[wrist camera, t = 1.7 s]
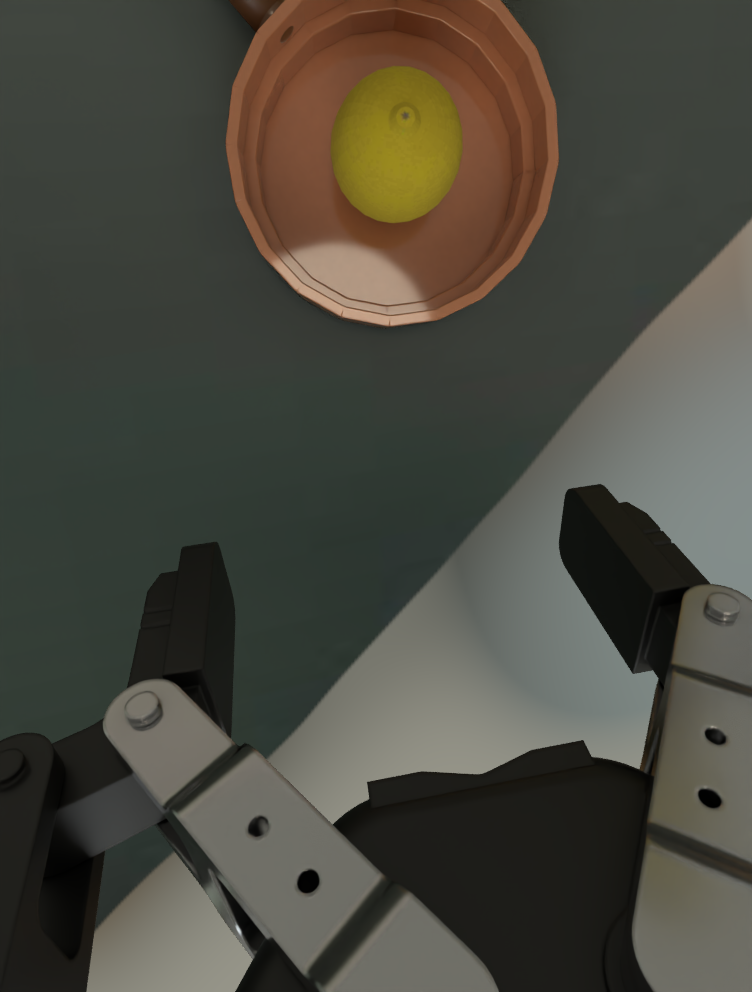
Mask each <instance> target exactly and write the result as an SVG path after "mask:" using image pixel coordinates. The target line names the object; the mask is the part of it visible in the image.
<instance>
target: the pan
mask: <svg viewBox="0 0 752 992" xmlns="http://www.w3.org/2000/svg"><path fill="white" fill-rule="evenodd" d="M290 26H293V27H294V29H293V33H292V35H291V36H290V38H289V39H288V40H287V41H286V42H284V43H280V39H281V37H282V35H283V33H284V32H285V31H286V30H287V29H288V28H289V27H290ZM391 66H410V67H413V68H416V69H418V70H421V71H424V72H426V73H427V74H429V75H430V76H432V77H433V78H435V79H436V80H438V81H439V82H440V83H441V85H442V86H443V87H444V88H445V89H446V90H447V92H448V93H449V94H450V96H451V98H452V100H453V102H454V104H455V106H456V108H457V110H458V114H459V118H460V122H461V126H462V141H463V152H462V156H461V161H460V166H459V170H458V173H457V175H456V177H455V180H454V182H453V184H452V186H451V188H450V190H449V191H448V193H447V194H446V195H445V196H444V198H443V199H442V200H441V201H440V203H439V204H438V205H437V206H436V207H434V208H433V209H432V210H430V211H429V212H428V213H426V214H425V215H423V216H421V217H419V218H416V219H414V220H411V221H409V222H400V223H388V222H382V221H377V220H375V219H373V218H371V217H368V216H366V215H364V214H363V213H362V212H360V211H359V210H358V209H357V208H356V207H354V206H353V205H352V204H351V203H350V202H349V200H348V199H347V198H346V196H345V195H344V194H343V192H342V191H341V189H340V186H339V184H338V182H337V179H336V177H335V174H334V171H333V165H332V159H331V153H330V152H331V134H332V129H333V126H334V122H335V119H336V116H337V113H338V110H339V109H340V107H341V105H342V103H343V102H344V100H345V98H346V96H347V95H348V93H349V92H350V91H351V90H352V89H353V88H354V87H355V86H356V85H357V84H358V83H359V82H360V81H361V80H362V79H363V78H365V77H367V76H368V75H370V74H372V73H373V72H375V71H377V70H379V69H383V68H387V67H391ZM555 103H556V102H555V99H554V96H553V93H552V90H551V88H550V85H549V82H548V79H547V76H546V73H545V70H544V68H543V65H542V62H541V59H540V56H539V53H538V50H537V49H536V47H535V45H534V44H533V43H532V41H531V40H530V38H529V37H528V36H527V34H526V33H525V32H524V30H523V29H522V28H521V26H520V25H519V24H518V22H517V21H516V20H515V18H514V17H513V16H512V14H511V13H510V11H509V10H508V9H507V7H506V6H505V5H504V3H502V1H500V0H285V1H284V2H283V3H282V4H281V5H280V6H279V7H278V8H277V9H276V11H275V12H274V13H273V14H272V15H271V16H270V17H269V18H268V19H267V20H266V22H265V23H264V24H263V25H262V26H261V27H260V28H259V29H258V30H257V32H256V33H255V36H254V38H253V40H252V42H251V45H250V47H249V49H248V51H247V54H246V56H245V58H244V60H243V63H242V65H241V67H240V69H239V72H238V74H237V76H236V79H235V81H234V83H233V87H232V92H231V101H230V109H229V118H228V126H227V135H226V143H225V144H226V152H227V158H228V164H229V170H230V175H231V181H232V187H233V193H234V199H235V202H236V205H237V207H238V209H239V211H240V213H241V215H242V217H243V220H244V222H245V224H246V226H247V228H248V230H249V232H250V234H251V236H252V238H253V240H254V242H255V244H256V246H257V248H258V250H259V252H260V253H261V255H262V256H263V257H264V258H265V259H266V260H267V262H268V263H269V264H270V265H271V266H272V267H273V268H274V269H275V270H276V271H277V273H278V274H279V275H280V276H281V277H282V278H283V279H284V280H285V281H286V282H287V283H288V284H289V285H290V287H291V288H292V289H293V290H294V291H295V292H296V293H297V294H298V295H299V296H300V297H302V298H303V299H304V300H306V301H307V302H309V303H311V304H313V305H315V306H316V307H318V308H320V309H322V310H323V311H325V312H327V313H329V314H330V315H332V316H334V317H336V318H338V319H340V320H342V321H347V322H352V323H357V324H362V325H367V326H373V327H378V328H385V329H386V328H393V327H401V326H408V325H416V324H423V323H428V322H433V321H436V320H440V319H442V318H444V317H446V316H448V315H450V314H452V313H454V312H456V311H458V310H460V309H462V308H464V307H466V306H468V305H470V304H472V303H474V302H476V301H478V300H480V299H482V298H483V297H485V296H486V295H487V294H488V293H489V292H490V291H491V290H492V289H493V288H494V287H495V286H496V285H497V284H498V283H499V282H500V281H501V280H502V279H503V278H505V277H506V276H507V275H508V274H509V273H510V272H511V271H512V270H513V269H514V268H515V267H516V266H517V265H518V264H519V262H521V260H522V258H523V256H524V255H525V253H526V251H527V249H528V248H529V246H530V244H531V242H532V240H533V239H534V237H535V235H536V233H537V231H538V230H539V228H540V226H541V224H542V223H543V221H544V219H545V217H546V214H547V211H548V206H549V202H550V198H551V193H552V189H553V185H554V180H555V176H556V172H557V167H558V163H559V152H558V132H557V113H556V104H555Z"/></svg>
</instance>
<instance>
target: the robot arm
mask: <svg viewBox="0 0 752 992" xmlns="http://www.w3.org/2000/svg"><path fill="white" fill-rule="evenodd" d="M559 550H560V555H561V559H562V562H563V564H564V566H565V568H566V569H567V571H568V573H569V574H570V575H571V577H572V579H573V580H574V582H575V584H576V585H577V587H578V588H579V590H580V591H581V593H582V594H583V596H584V598H585V599H586V601H587V602H588V604H589V606H590V607H591V609H592V610H593V612H594V613H595V615H596V616H597V618H598V620H599V621H600V623H601V624H602V626H603V628H604V629H605V631H606V632H607V634H608V635H609V637H610V639H611V640H612V642H613V643H614V645H615V646H616V648H617V650H618V651H619V653H620V654H621V656H622V657H623V659H624V660H625V662H626V664H627V665H628V667H629V668H630V670H631V672H632V673H633V674H635V673H641V672H646V671H651V670H653V671H654V672H655V674H656V675H657V677H658V678H659V679H658V682H657V685H656V689H655V694H654V699H653V705H652V710H651V715H650V720H649V725H648V731H647V736H646V741H645V746H644V751H643V757H642V761H641V765H640V769H637V768H634V767H632V766H629V765H627V764H624V763H620V762H617V761H613V760H608V759H603V758H595V757H591V755H590V753H589V751H588V749H587V747H586V745H585V743H584V741H583V740H581V741H576V742H571V743H566V744H561V745H556V746H550V747H545V748H540V749H535V750H531V751H529V752H527V753H525V754H523V755H521V756H519V757H517V758H515V759H513V760H511V761H509V762H507V763H505V764H503V765H500V766H498V767H496V768H494V769H492V770H490V771H488V772H486V773H483V774H457V773H440V772H416V773H411V774H406V775H401V776H396V777H391V778H385V779H380V780H375V781H370V782H367V784H368V792H369V800H367V801H365V802H363V803H361V804H359V805H357V806H356V807H354V808H353V809H351V810H350V811H348V812H347V813H345V814H344V815H343V816H342V817H341V818H339V819H338V820H337V821H336V822H335V823H334V824H333V825H332V824H331V823H330V822H329V821H328V820H327V819H326V818H325V817H324V816H323V815H322V814H321V813H320V812H319V811H318V810H317V809H316V808H315V807H314V806H313V805H312V804H311V803H310V802H309V801H308V800H307V799H306V798H305V797H304V796H303V795H302V794H301V793H300V792H299V791H298V790H297V789H296V788H295V787H294V786H293V785H292V784H291V783H290V782H289V781H288V780H286V779H285V778H284V777H283V776H282V775H281V774H280V773H279V772H278V771H277V770H276V769H275V768H274V767H273V766H272V765H271V764H270V763H269V762H268V761H267V760H266V759H265V758H264V757H263V756H262V755H261V754H260V753H259V752H258V751H257V750H256V749H255V748H253V747H252V746H251V745H249V744H247V743H244V744H243V745H242V746H238V745H237V744H236V743H234V742H233V741H232V740H231V726H232V699H233V671H234V644H235V607H234V600H233V594H232V590H231V587H230V583H229V579H228V576H227V572H226V569H225V565H224V561H223V558H222V554H221V550H220V547H219V545H218V543H217V542H211V543H204V544H198V545H191V546H185V547H182V549H181V555H180V561H179V567H178V571H174V572H167V573H161V574H160V575H159V577H158V578H157V579H156V581H155V582H154V583H153V585H152V586H151V587H150V589H149V590H148V592H147V596H146V601H145V606H144V614H143V615H142V620H141V625H140V626H141V629H140V630H139V635H138V639H137V644H136V649H135V654H134V658H133V663H132V668H131V673H130V677H129V682H128V686H127V689H125V690H124V691H123V692H121V693H120V694H119V695H118V696H117V697H116V698H115V699H114V700H113V701H112V702H111V704H110V705H109V707H108V708H107V710H106V713H105V715H104V718H103V719H102V720H100V721H99V722H97V723H96V724H94V725H92V726H90V727H88V728H86V729H84V730H82V731H79V732H77V733H75V734H73V735H71V736H68V737H66V738H64V739H62V740H59V741H57V742H55V743H53V744H51V742H50V741H49V739H47V738H46V737H45V736H43V735H41V734H37V733H22V734H17V735H13V736H10V737H8V738H6V739H3V740H1V741H0V992H86V990H87V982H88V974H89V967H90V960H91V953H92V945H93V938H94V930H95V923H96V915H97V908H98V901H99V893H100V886H101V878H102V871H103V864H104V856H105V850H107V849H109V848H111V847H113V846H115V845H117V844H119V843H120V842H122V841H124V840H126V839H128V838H130V837H132V836H134V835H136V834H138V833H140V832H141V831H143V830H145V829H147V828H149V827H151V826H153V825H155V826H156V828H157V829H158V830H159V832H160V833H161V834H162V835H163V837H164V838H165V839H166V841H167V842H168V843H169V845H170V846H171V847H172V849H173V850H174V851H175V853H176V854H177V855H178V856H179V858H180V859H181V860H182V862H183V863H184V864H185V866H186V867H187V868H188V870H189V871H190V872H191V873H192V875H193V876H194V877H195V879H196V880H197V881H198V882H199V884H200V885H201V887H202V888H203V889H204V891H205V892H206V894H207V895H208V896H209V898H210V900H211V901H212V903H213V904H214V906H215V907H216V909H217V911H218V912H219V914H220V915H221V917H222V918H223V920H224V921H225V923H226V924H227V925H228V927H229V928H230V930H231V931H232V932H233V934H234V935H235V936H236V938H237V939H238V940H239V942H240V943H241V944H242V946H243V947H244V948H245V950H246V951H247V952H248V954H249V955H250V956H251V958H252V959H253V961H252V962H251V964H250V966H249V968H248V970H247V971H246V973H245V975H244V977H243V979H242V981H241V982H240V984H239V986H238V988H237V990H236V991H235V992H752V600H751V599H750V598H749V597H747V596H746V595H744V594H742V593H741V592H739V591H737V590H734V589H732V588H728V587H725V586H721V585H714V584H710V583H709V582H708V581H707V579H706V578H705V577H704V576H703V575H702V574H701V573H700V572H699V570H698V569H697V568H696V567H695V566H694V565H693V564H692V563H691V562H690V560H689V559H688V558H687V557H686V556H685V555H684V554H683V553H682V552H681V551H680V549H679V548H678V547H677V546H676V545H675V544H674V543H671V539H670V538H669V537H668V536H667V535H666V534H665V533H664V532H663V531H661V530H660V527H659V526H658V525H657V524H656V523H655V522H654V521H653V520H652V519H651V517H649V515H648V514H647V513H645V512H644V511H642V510H640V509H638V508H637V507H635V506H633V505H631V504H630V503H628V502H623V503H618V501H617V500H616V499H615V498H614V496H613V495H612V494H611V493H610V492H609V491H608V489H607V488H606V487H605V486H603V485H601V484H598V485H591V486H585V487H578V488H572V489H568V490H567V492H566V494H565V499H564V507H563V515H562V523H561V531H560V537H559Z"/></svg>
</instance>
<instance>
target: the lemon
mask: <svg viewBox="0 0 752 992" xmlns="http://www.w3.org/2000/svg"><path fill="white" fill-rule="evenodd" d="M462 152H463V141H462V126H461V122H460V118H459V114H458V110H457V108H456V106H455V104H454V102H453V100H452V98H451V96H450V94H449V93H448V92H447V90H446V89H445V88H444V87H443V86H442V85H441V83H440V82H439V81H438V80H436V79H435V78H433V77H432V76H430V75H429V74H427V73H426V72H424V71H421V70H418V69H416V68H413V67H410V66H391V67H387V68H383V69H379V70H377V71H375V72H373V73H372V74H370V75H368V76H367V77H365V78H363V79H362V80H361V81H360V82H359V83H358V84H357V85H356V86H355V87H354V88H353V89H352V90H351V91H350V92H349V93H348V95H347V96H346V98H345V100H344V102H343V103H342V105H341V107H340V109H339V110H338V113H337V116H336V119H335V122H334V126H333V129H332V134H331V152H330V153H331V159H332V165H333V171H334V174H335V177H336V179H337V182H338V184H339V186H340V189H341V191H342V192H343V194H344V195H345V196H346V198H347V199H348V200H349V202H350V203H351V204H352V205H353V206H354V207H356V208H357V209H358V210H359V211H360V212H362V213H363V214H364V215H366V216H368V217H371V218H373V219H375V220H377V221H382V222H388V223H400V222H409V221H411V220H414V219H416V218H419V217H421V216H423V215H425V214H426V213H428V212H429V211H430V210H432V209H433V208H434V207H436V206H437V205H438V204H439V203H440V201H441V200H442V199H443V198H444V196H445V195H446V194H447V193H448V191H449V190H450V188H451V186H452V184H453V182H454V180H455V177H456V175H457V173H458V170H459V166H460V161H461V156H462Z"/></svg>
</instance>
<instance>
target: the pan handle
mask: <svg viewBox="0 0 752 992" xmlns="http://www.w3.org/2000/svg"><path fill="white" fill-rule="evenodd" d="M284 1H285V0H229V2H230V3H231V4H232V5H233V6H234V7H235V9H236V10H237V11H238V12H239V13H240V15H241V16H242V17H243V18H244V19H245V20H246V22H247V23H248V24H249V25H250V26H251V27H252V29H253V30H254V31H255V32H257V30H258V29H259V28H260V27H261V26H262V25H263V24H264V23H265V22H266V20H267V19H268V18H269V17H270V16H271V15H272V14H273V13H274V12H275V11H276V9H277V8H278V7H279V6H280V5H281V4H282V3H283V2H284ZM293 29H294V27H293V26H290V27H289V28H288V29H287V30H286V31H285V32H284V33H283V35H282V37H281V39H280V43H284V42H286V41H287V40H288V39H289V38H290V36H291V35H292V33H293Z"/></svg>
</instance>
